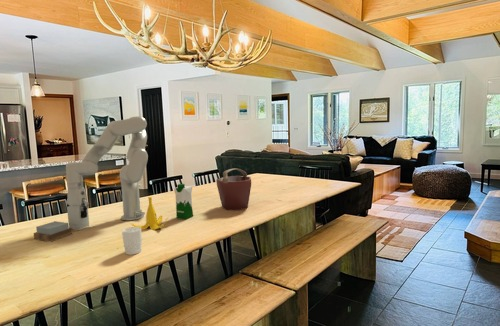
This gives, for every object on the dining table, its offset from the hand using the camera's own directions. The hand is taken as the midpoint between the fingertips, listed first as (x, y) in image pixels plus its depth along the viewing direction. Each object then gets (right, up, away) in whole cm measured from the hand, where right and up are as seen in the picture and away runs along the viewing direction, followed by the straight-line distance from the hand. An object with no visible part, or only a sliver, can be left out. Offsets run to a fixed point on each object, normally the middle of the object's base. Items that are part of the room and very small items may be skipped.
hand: (78, 216), depth 183 cm
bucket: (+84, +1, +36) cm, 91 cm away
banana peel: (+38, -6, -2) cm, 39 cm away
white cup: (+43, -10, -37) cm, 57 cm away
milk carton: (+55, -3, +15) cm, 57 cm away
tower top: (-6, -5, -13) cm, 15 cm away
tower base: (-6, -8, -13) cm, 16 cm away
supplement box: (0, -6, +1) cm, 6 cm away
